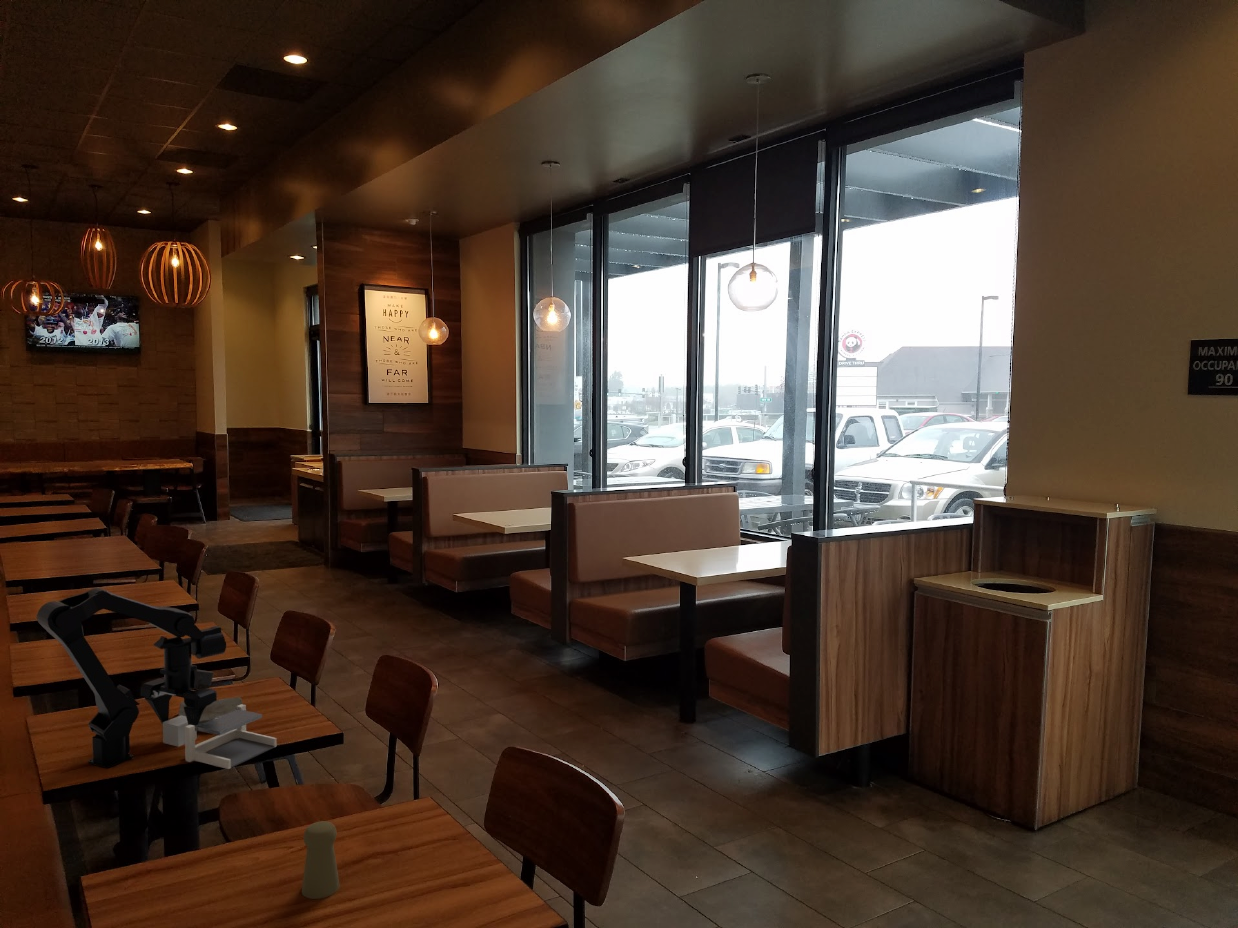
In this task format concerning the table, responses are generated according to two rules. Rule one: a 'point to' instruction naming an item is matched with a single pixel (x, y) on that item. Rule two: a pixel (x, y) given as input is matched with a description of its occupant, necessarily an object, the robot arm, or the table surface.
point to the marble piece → (215, 708)
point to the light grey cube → (175, 731)
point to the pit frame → (227, 746)
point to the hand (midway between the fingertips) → (179, 728)
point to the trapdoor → (228, 722)
